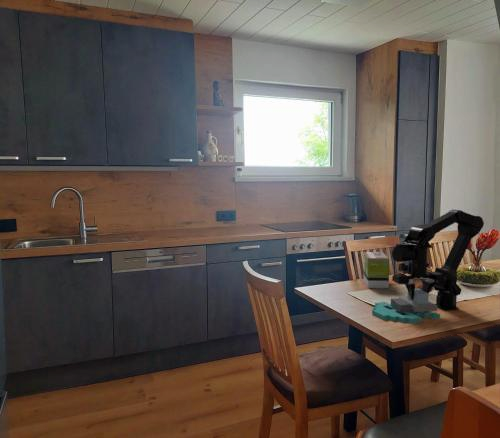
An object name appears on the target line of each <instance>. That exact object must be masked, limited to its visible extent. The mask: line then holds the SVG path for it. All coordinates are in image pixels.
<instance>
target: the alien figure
mask: <svg viewBox="0 0 500 438" xmlns="http://www.w3.org/2000/svg"><path fill="white" fill-rule="evenodd" d="M374 303H375V304H374V305H373V309H372V310H371V315H373V316H375V317H376V318H379V319H381V320H383V321H386V320H390V321H391V322H397V321H399V322H400V323H406V322H407V323H409V324H416V323H421V322H422V318H424V319H429V318H432V319H433V320H440V319H441V314H440V313H438V312H436V311H434V312H430V311H425V312H414V311H412V310H411V309H410V312H407V313H399V312H398V311H396V310H395V309H394V308H393V307H391V303H388V302H386V301H380V302H379V301H378V302H374Z"/></svg>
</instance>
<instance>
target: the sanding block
mask: <svg viewBox="0 0 500 438" xmlns="http://www.w3.org/2000/svg"><path fill="white" fill-rule="evenodd" d="M429 293H430V292H429ZM429 293H427V292H425V291H423V290H422V288H416V287H415V291H414V298H413V300H411V299H410V296H409V293H408V292H407V296H398V298H401V299H403V300H405V301H406V302H407V303H409V304H410V310H411V311H414V312H425V311H427V312H436V311H437V312H438V308H439V307H438V305H436V303H434V302H433V301H430V300H429V295H430V294H429Z"/></svg>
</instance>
